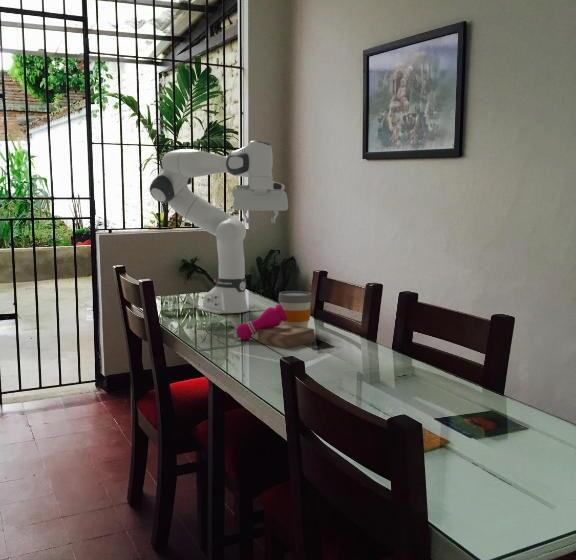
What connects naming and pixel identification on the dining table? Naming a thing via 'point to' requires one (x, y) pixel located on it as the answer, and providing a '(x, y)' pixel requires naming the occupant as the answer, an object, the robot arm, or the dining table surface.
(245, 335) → the pepper mill
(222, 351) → the dining table surface
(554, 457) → the dining table surface
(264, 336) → the walnut block
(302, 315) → the reusable coffee cup
